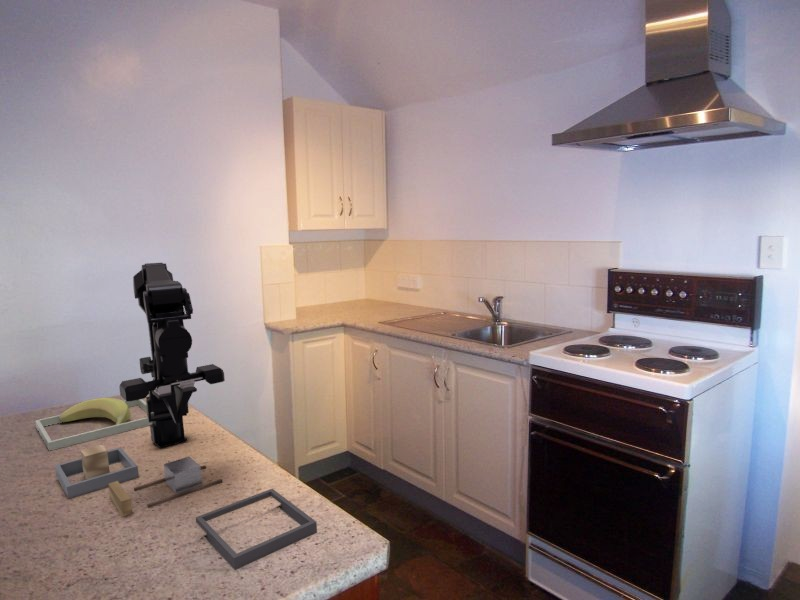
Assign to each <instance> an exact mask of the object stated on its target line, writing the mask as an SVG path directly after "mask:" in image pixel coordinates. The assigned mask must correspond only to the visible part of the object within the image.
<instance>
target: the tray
mask: <svg viewBox="0 0 800 600" xmlns="http://www.w3.org/2000/svg"><path fill="white" fill-rule="evenodd" d="M107 454H108V462H109V466H111V465H114V464H118V463H121V464H122V465H123V466H124V468H120V469H117V470H114V471H111V472H110V473H107V474H104V475H100V476H97V477H93V478H90V479H87V480H86V479H84V480H80V481H76V482H73V483H71V482H70V481H69V479H68V477H69V478H70V477H73V476H77V475H80V474H84V473H83V465H82V457H79V458H77V459H73V460H69V461H65V462H62V463H57V464H55V465H54V468H55V469H54V470H55V477H56V481H58V482H59V484H60V486H61V489H63V491H64V493H65V495H66V497H67V498H68V499H71V498H75V497H78V496H82V495H85V494H88V493H91V492H94V491H97V490H100V489H104V488H107V487H108V488H109V486H108V484H109V483H112V482H115V481H118V482H119V484H120V483H124V482H127V481H130V480H133V479H136V478H139V477H140V475H139V467H138V465H137V464H136V463H135V461H134V460H133V459H132V458H131V457H130V456H129V455H128V454H127V452H126V451H125V450H124V449H123V448H122V447H117V448H112V449H109V450H107Z"/></svg>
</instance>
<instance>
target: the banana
mask: <svg viewBox="0 0 800 600" xmlns="http://www.w3.org/2000/svg"><path fill="white" fill-rule="evenodd" d="M123 401H124V400H122V399H118V398H114V397H99V398H93V399H88V400H84V401H82V402H79V403H76V404H74V405H72V406H71V407H69V408H68V409H66V410H65V411H63V412H62V413H61V414H59V415H60V416H59V420H60V422H63V423H67V422H73V421H77V420H83V419H88V418H105V419H106V418H107V419H108V420H111V421H113V423H115V425H118V424H122V423H126V422H128V421H129V420H130V418H131V416H132V415H131V410H130V409H129V408H130V407H128V406H127V404H126V403H125V402H123Z"/></svg>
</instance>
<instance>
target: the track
mask: <svg viewBox="0 0 800 600" xmlns="http://www.w3.org/2000/svg"><path fill="white" fill-rule="evenodd" d="M200 466H201V465H200ZM205 469H207V466H206V464H205V465H202V466H201V471H202V470H205ZM164 482H165V483H166V480H165V477H163V478H160V479H158V480H154V481H152V482H148V483H146V484H145V483H144V484H142V485H139V486H136V487H134V488H133V490H134V491H135V492H136V491H140V490H142V489H146V488H149V487H152V486H155V485H158V484H161V483H164ZM221 483H224V482H223V479H217V480H214V481H212V482H209V483H205V484H202V485H201V486H199V487H196V488H193V489H190V490H187V491H184V492H181V493H178V494H176V493H175V494H174V495H171V496H170V495H169V496H168V497H164V498H162V499H158V500H156V501H153V502H151V503H150V502H149V503H147V504H146V506H147V508H148V509H150V508H152V507H155V506H157V505H161V504H164V503H166V502H170V501H172V500H175V499H177V498H178V499H179V498H182V497H184V496H186V495H190V494H192V493H196V492H198V491H201V490H205V489H207V488H211V487H212V486H216V485H219V484H221ZM108 493H109V498H110V500H111V502H112V503H113V504H114V506H115V508H116V509H117V510H118V512H119V513H120V515H121V516H122V517H125V516H129V515H132V514H133V505H132V504H133V503H132V497H130V496H129V494H128V493H127V491H126V490H125V489H124V487H123V486H122V485H121V484H120V483H119V482H118V481H115V482H112V483H109V484H108Z"/></svg>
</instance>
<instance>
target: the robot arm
mask: <svg viewBox="0 0 800 600" xmlns="http://www.w3.org/2000/svg"><path fill="white" fill-rule="evenodd" d="M173 276H174V275H173V273H172V271H169V270H168V266H167V263H166V262H165V263H164V262H150V263H148V262H146V263H144V264H142V265H141V270H139V271H138V272H137V273H135V274H134V275H133V277H132V281H133V282H132V283H133V284H132V285H133V294H134V295H133V296H134V299H136V300H137V303H138V306H139V308H140V309H141V310H142V311H143V313H144V314H145V316H146V320H147V321H146V322H147V328H148V334H149V342H150V343H149V344H150V351H151V352H150V353H151V356H146V357H141V358H139V367H140V369H139V370H140V373H141V374H142V375H145V374H150V375H151V378H153V379H152V380H149V381H145V380H144V379H143V378H142V377H137V378H134V379H133V378H132V379H128V380H122V381H121V383H120V384H119V394H120V397H122V399H123V400H124V401H125V400H126V401H135V400H140V399H142V400H144V399H145V402H146V409H147V412H146V415H147V416H146V417H148V420H149V423H150V422H152V424H151V425H149V428H150V429H149V430H150V439H151V442H153V444H155V445H156V446H157V447H158V448H162V449H163V448H166V447H169V446H172V445H176V444H180V443H183V442H187V441H188V437H187V436H185V428H184V427H185V426H184V417H186V416H188V415H187V414H189V401H190V399H191V397H192V395H193V393H196V392H197V391H198V389H197V387H195V382H200V381H205V382H207V384H209V385H214V384H218V383H219V384H220V383H224V382H225V381H226V380H225V379H226V378H225V372H224V370H223V369H222V367H220V366H217V365H216V364H213V363H211V364H207V365H206V364H205V365H201V366H200V365H199V366H197V367H196V370H195V372H189V367H188V358H189V351H190V349H191V348H192V345H193V339H192V335H191V333H190V332H189V331H188V329H186V327H185V325H184V324H185V323H184V320H191V319H192V314H194V309H193V304H192V300H191V295H190V293H189V292H188V289H186V287H183V284H182V283H181V282H179V281H177V280H174V277H173ZM151 412H153V413H151Z"/></svg>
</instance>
